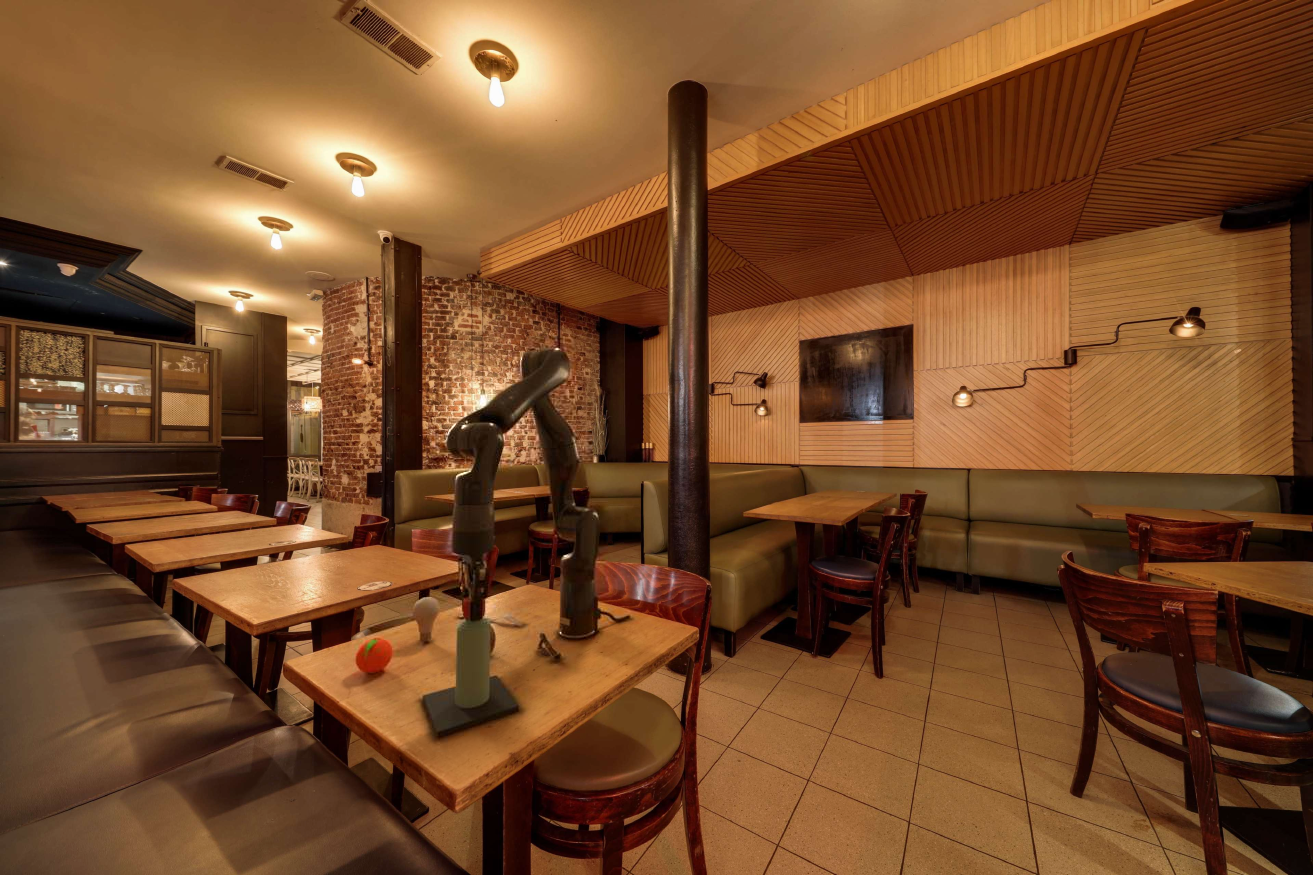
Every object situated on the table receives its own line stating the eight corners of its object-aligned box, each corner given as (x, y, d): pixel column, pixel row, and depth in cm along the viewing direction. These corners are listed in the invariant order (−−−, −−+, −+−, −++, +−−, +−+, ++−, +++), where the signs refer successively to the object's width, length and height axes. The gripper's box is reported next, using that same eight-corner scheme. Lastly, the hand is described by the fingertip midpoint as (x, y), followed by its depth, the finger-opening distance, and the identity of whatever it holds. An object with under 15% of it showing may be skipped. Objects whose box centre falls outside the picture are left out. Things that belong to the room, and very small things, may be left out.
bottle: (484, 687, 91) (486, 594, 92) (492, 701, 86) (494, 602, 87) (452, 696, 88) (454, 600, 88) (459, 711, 83) (461, 609, 83)
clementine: (382, 680, 96) (383, 646, 96) (346, 683, 94) (346, 648, 95) (397, 663, 103) (398, 631, 104) (364, 665, 102) (364, 633, 102)
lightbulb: (418, 636, 118) (419, 593, 118) (442, 636, 118) (443, 593, 118) (407, 647, 112) (408, 601, 112) (433, 646, 112) (434, 601, 112)
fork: (464, 622, 133) (463, 613, 134) (525, 624, 127) (524, 613, 127) (457, 626, 131) (456, 616, 131) (519, 627, 124) (518, 617, 125)
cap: (460, 614, 88) (461, 597, 88) (481, 610, 90) (482, 593, 90) (465, 621, 85) (466, 603, 85) (487, 616, 87) (487, 599, 87)
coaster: (496, 679, 97) (496, 674, 97) (518, 710, 85) (518, 705, 85) (422, 700, 88) (423, 695, 88) (436, 738, 77) (437, 732, 77)
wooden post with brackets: (540, 644, 112) (544, 629, 111) (556, 668, 107) (561, 652, 105) (533, 646, 110) (537, 631, 109) (550, 670, 105) (555, 655, 104)
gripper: (505, 530, 84) (503, 623, 84) (483, 519, 96) (481, 601, 95) (461, 534, 80) (459, 632, 79) (444, 522, 91) (442, 608, 91)
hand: (471, 615), depth 87 cm, fingers open, 5 cm apart
